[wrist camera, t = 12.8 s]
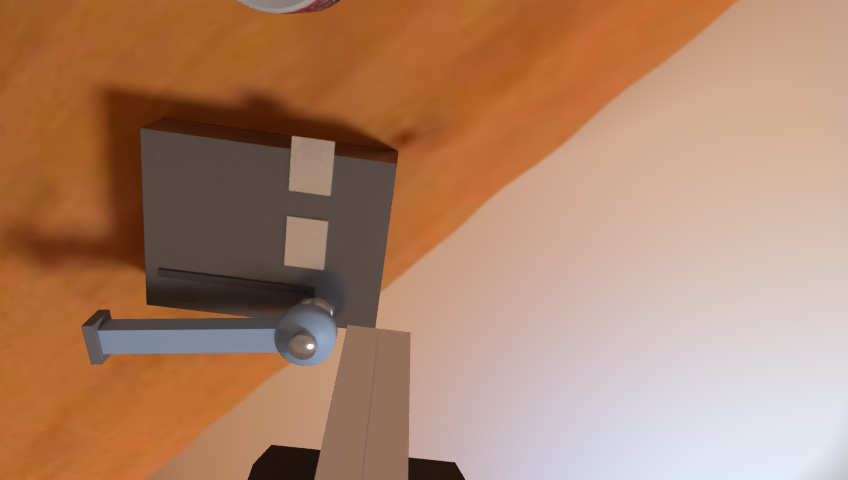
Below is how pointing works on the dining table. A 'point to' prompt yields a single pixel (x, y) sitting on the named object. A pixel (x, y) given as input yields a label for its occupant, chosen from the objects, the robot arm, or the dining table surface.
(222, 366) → the dining table surface
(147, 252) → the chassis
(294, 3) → the canned food
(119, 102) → the dining table surface
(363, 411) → the robot arm
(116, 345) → the swing bar
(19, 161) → the dining table surface
